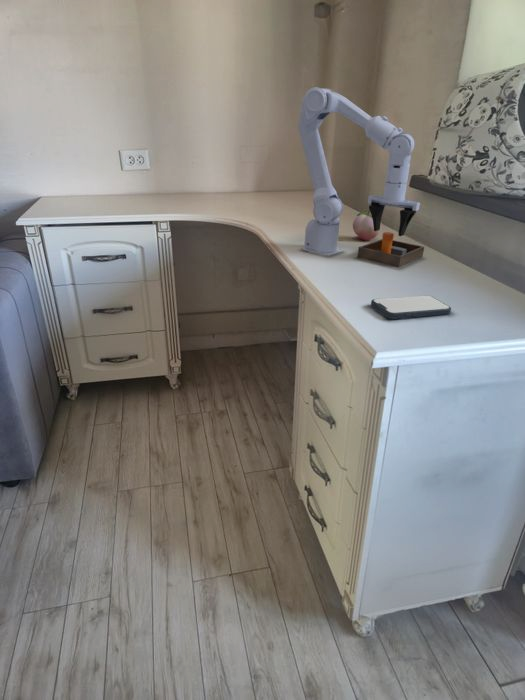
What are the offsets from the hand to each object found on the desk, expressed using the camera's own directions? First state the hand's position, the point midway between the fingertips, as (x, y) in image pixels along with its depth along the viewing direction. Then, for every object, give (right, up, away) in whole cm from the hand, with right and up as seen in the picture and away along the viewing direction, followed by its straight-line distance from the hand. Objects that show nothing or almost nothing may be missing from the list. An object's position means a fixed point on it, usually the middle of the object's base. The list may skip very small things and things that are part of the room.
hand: (388, 232), depth 138 cm
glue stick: (0, -7, +3) cm, 8 cm away
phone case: (-3, -24, -30) cm, 38 cm away
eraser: (+4, -4, +8) cm, 10 cm away
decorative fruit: (-2, +3, +24) cm, 24 cm away
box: (+2, -6, +6) cm, 9 cm away
